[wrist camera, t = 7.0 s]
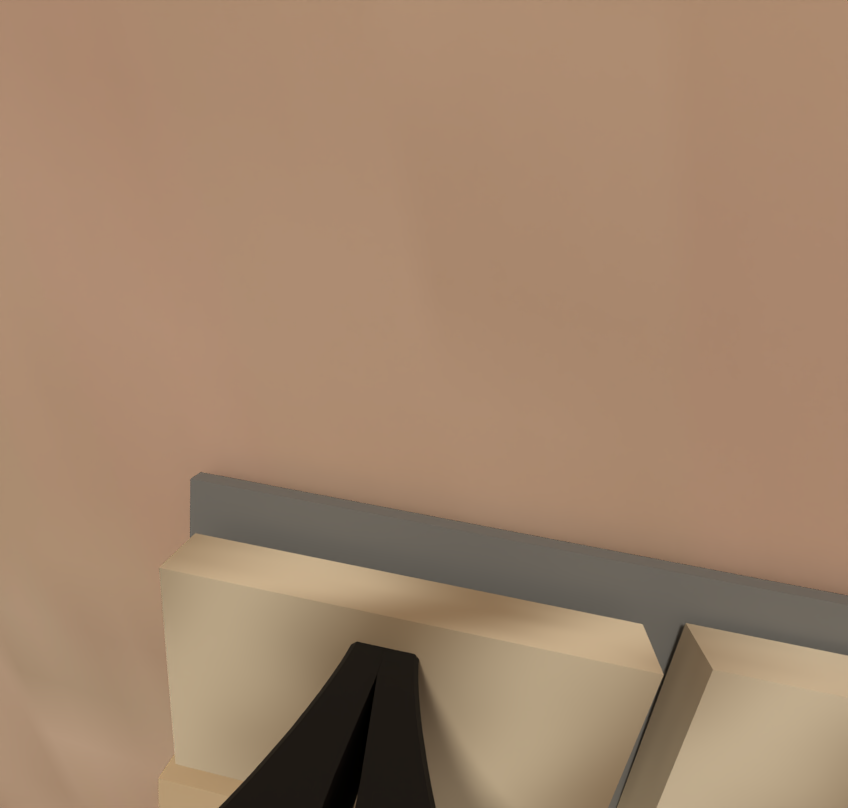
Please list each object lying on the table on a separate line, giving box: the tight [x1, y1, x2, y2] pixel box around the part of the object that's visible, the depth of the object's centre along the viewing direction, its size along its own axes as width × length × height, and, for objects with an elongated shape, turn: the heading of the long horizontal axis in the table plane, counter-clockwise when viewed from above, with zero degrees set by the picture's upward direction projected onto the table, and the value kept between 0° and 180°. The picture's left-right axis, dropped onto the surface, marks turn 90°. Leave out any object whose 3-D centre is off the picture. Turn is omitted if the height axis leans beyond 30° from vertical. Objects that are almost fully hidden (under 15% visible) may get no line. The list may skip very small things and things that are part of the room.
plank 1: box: [159, 533, 664, 808], centre depth 10 cm, size 10×6×1 cm, turn 82°
